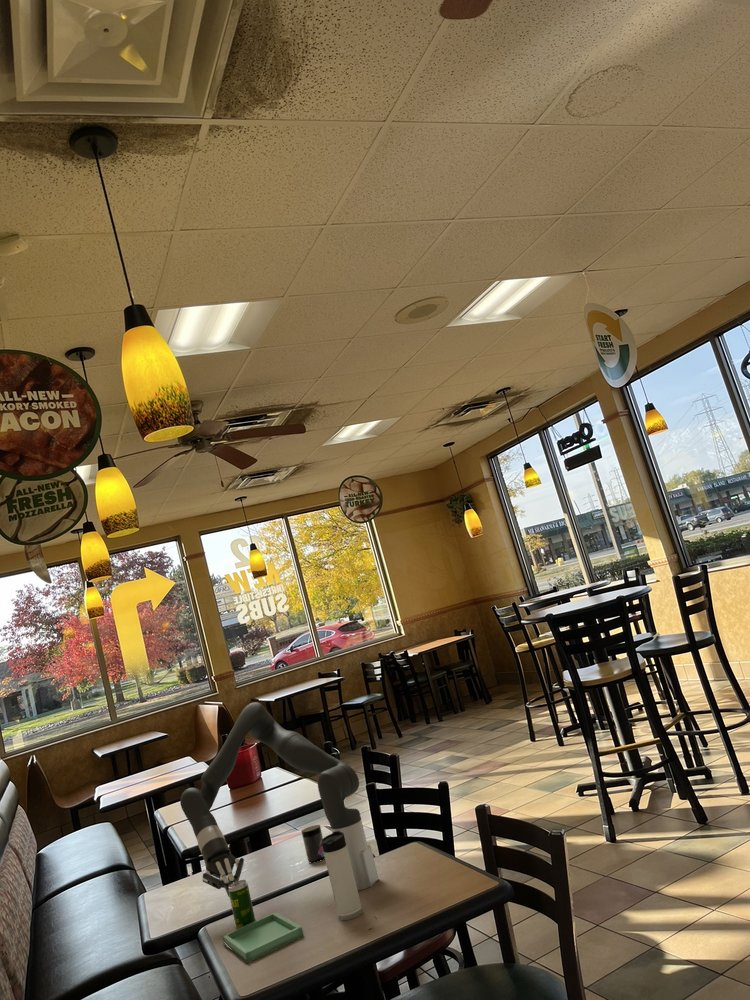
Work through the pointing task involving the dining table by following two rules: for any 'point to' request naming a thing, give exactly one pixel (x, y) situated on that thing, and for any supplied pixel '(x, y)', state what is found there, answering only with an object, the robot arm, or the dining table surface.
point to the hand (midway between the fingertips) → (234, 896)
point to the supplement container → (313, 843)
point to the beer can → (241, 903)
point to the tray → (262, 936)
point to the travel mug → (341, 876)
